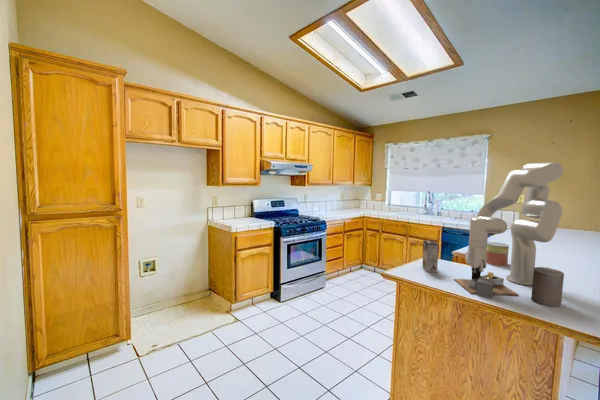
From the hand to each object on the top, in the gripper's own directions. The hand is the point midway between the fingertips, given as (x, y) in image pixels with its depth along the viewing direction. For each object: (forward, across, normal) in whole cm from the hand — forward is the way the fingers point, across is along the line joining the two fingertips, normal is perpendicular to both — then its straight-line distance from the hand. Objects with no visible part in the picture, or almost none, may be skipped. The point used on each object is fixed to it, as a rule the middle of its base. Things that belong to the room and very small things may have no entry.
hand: (475, 280), depth 138 cm
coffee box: (+3, -22, -15) cm, 26 cm away
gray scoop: (+1, +2, +3) cm, 4 cm away
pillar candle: (+2, +17, +20) cm, 26 cm away
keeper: (+2, +10, -1) cm, 11 cm away
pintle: (+2, -1, +7) cm, 8 cm away
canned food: (+2, -39, +30) cm, 50 cm away
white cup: (+2, -38, +15) cm, 41 cm away
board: (+2, +3, +2) cm, 5 cm away
